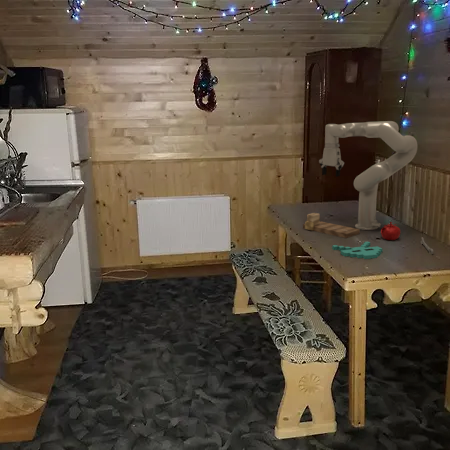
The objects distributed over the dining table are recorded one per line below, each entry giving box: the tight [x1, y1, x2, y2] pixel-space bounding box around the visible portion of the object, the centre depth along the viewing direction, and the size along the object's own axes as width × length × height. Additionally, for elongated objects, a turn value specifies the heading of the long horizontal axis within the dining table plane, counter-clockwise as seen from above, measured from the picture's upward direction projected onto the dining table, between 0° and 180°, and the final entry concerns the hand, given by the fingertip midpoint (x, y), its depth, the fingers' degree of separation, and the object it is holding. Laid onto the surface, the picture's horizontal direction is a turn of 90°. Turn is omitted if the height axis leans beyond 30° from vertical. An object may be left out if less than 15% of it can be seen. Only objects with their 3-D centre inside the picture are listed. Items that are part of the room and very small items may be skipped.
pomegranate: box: [380, 221, 401, 241], centre depth 275 cm, size 10×10×9 cm
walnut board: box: [302, 220, 361, 239], centre depth 293 cm, size 30×12×3 cm, turn 41°
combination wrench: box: [420, 237, 434, 255], centre depth 257 cm, size 4×1×20 cm
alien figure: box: [331, 241, 384, 260], centre depth 254 cm, size 20×2×20 cm
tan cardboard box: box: [304, 212, 321, 231], centre depth 297 cm, size 5×7×8 cm
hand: (330, 175), depth 305 cm, fingers open, 9 cm apart
